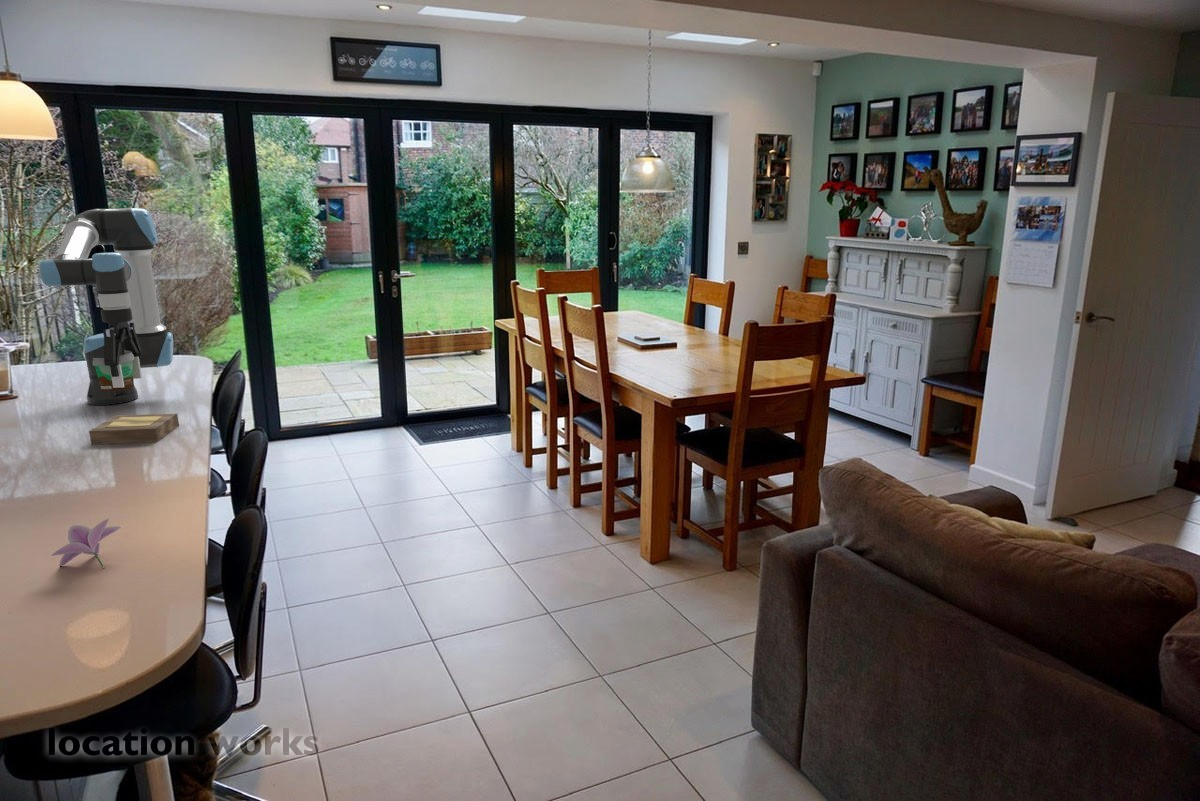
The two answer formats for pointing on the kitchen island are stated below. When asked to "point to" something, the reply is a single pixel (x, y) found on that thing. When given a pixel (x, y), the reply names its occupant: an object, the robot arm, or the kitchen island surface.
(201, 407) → the kitchen island surface
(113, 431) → the plate
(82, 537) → the lily
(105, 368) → the food container
